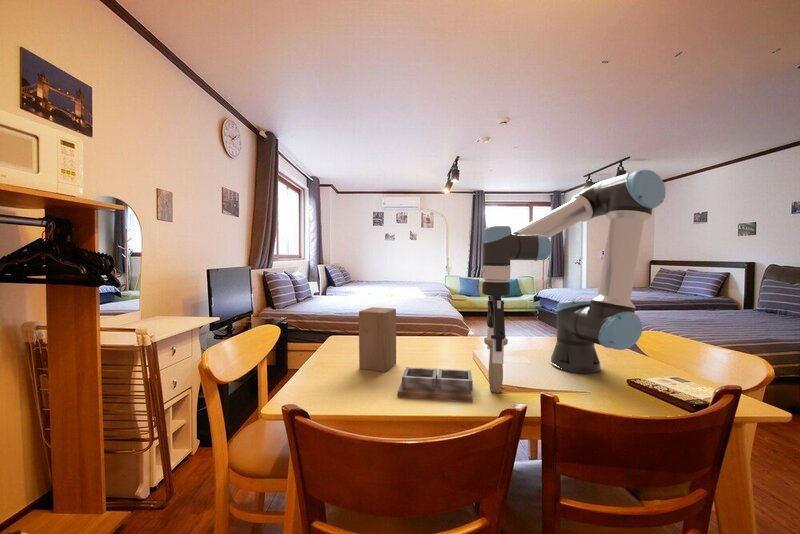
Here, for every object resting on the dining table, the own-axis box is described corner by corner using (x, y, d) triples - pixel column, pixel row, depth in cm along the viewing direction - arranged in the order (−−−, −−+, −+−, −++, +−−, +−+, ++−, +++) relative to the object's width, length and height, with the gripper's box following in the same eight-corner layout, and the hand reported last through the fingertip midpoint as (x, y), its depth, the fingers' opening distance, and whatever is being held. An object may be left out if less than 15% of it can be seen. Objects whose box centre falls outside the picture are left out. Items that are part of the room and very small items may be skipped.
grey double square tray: (470, 381, 100) (470, 367, 100) (473, 401, 86) (473, 384, 86) (405, 378, 103) (404, 364, 103) (397, 396, 90) (397, 380, 90)
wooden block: (358, 369, 112) (358, 311, 112) (371, 360, 122) (371, 307, 121) (385, 372, 109) (384, 312, 108) (396, 363, 118) (396, 308, 117)
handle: (509, 394, 91) (510, 340, 90) (486, 394, 91) (486, 341, 90) (504, 387, 96) (504, 336, 95) (482, 387, 96) (482, 336, 95)
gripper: (478, 278, 105) (477, 343, 106) (486, 283, 81) (485, 369, 81) (503, 278, 104) (501, 345, 105) (518, 284, 80) (516, 371, 80)
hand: (494, 355), depth 93 cm, fingers open, 13 cm apart
